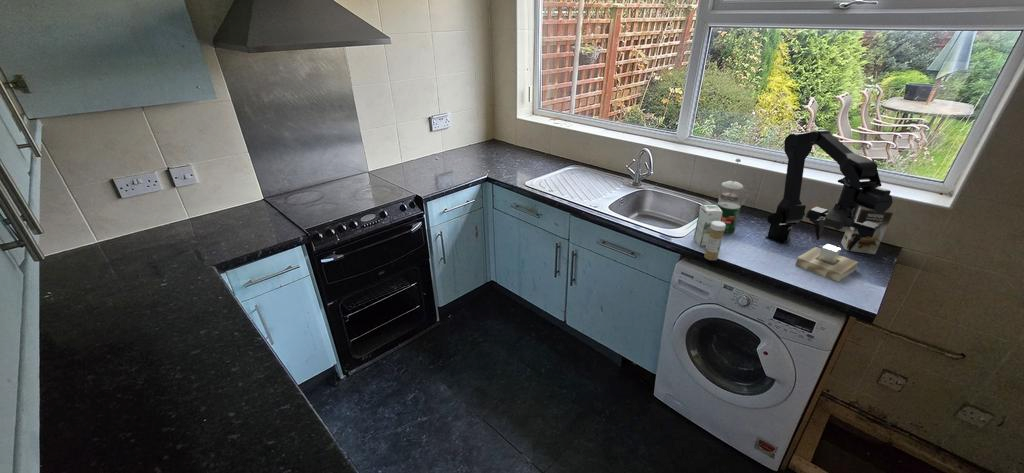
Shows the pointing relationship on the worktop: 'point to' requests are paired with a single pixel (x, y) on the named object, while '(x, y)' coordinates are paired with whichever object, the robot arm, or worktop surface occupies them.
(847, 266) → the well block
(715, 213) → the syrup box
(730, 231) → the canned tomato
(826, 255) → the grey rectangular block
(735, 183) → the french press
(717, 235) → the sprinkles bottle
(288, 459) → the worktop surface
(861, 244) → the cookie box
